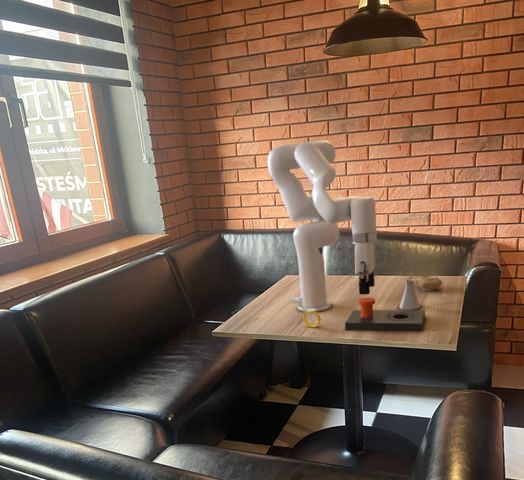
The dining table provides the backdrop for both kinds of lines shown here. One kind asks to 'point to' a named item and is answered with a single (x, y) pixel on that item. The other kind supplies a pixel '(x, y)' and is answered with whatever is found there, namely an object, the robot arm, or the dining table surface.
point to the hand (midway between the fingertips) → (367, 290)
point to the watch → (315, 314)
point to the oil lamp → (427, 282)
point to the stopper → (366, 307)
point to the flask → (409, 297)
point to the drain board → (387, 320)
